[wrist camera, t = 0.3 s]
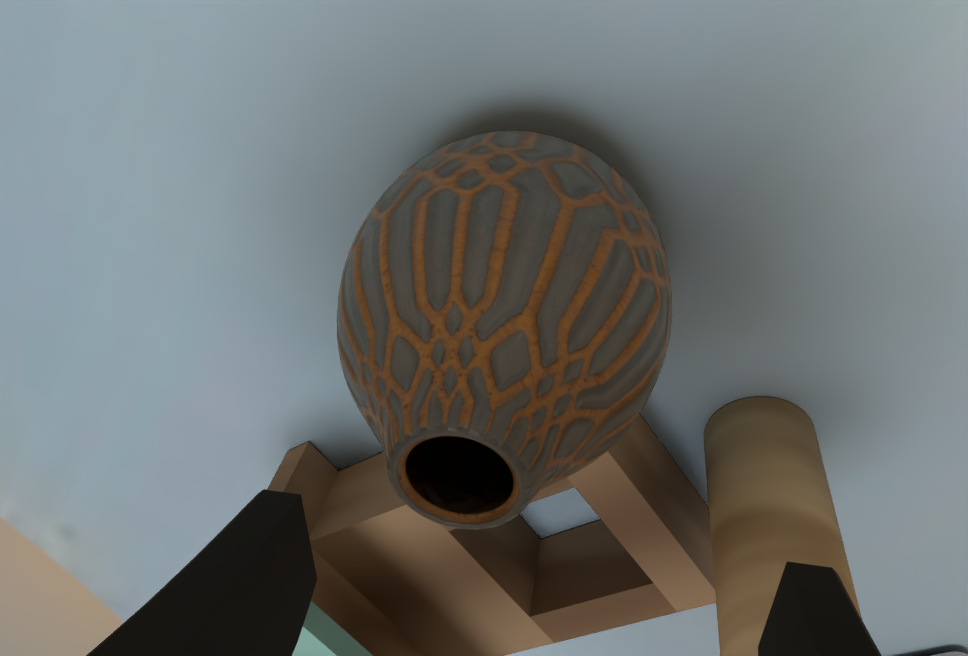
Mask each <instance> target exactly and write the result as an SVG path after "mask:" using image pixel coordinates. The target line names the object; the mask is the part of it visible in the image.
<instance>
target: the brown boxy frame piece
mask: <svg viewBox="0 0 968 656" xmlns="http://www.w3.org/2000/svg"><path fill="white" fill-rule="evenodd" d="M573 487H575V488H576V489H577V490H578V492H579V493H580V494H581V495H582V497H583V498H584V499H585V500H586V501H587V503H588V504H589V505H590V506H591V507H592V509H593V510H594V511H595V512H596V514H597V515H598V516H599V517H600V518H601V520H599V521H596V522H592V523H589V524H586V525H583V526H580V527H577V528H574V529H571V530H568V531H565V532H562V533H559V534H555V535H552V536H549V537H546V538H543V539H540V538H539V537H538V536H537V535H536V533H535V532H534V531H533V530H532V529H531V528H530V527H529V526H528V524H527V523H526V522H525V521H524V520H523V519H522V518H521V516H520V515H517V516H516V517H515V518H513V519H512V520H510V521H508V522H506V523H504V524H502V525H499V526H496V527H492V528H486V529H459V528H453V527H449V526H445V525H442V524H439V523H436V522H433V521H431V520H429V519H427V518H425V517H423V516H421V515H420V514H418V513H417V512H415V511H414V510H412V509H411V508H410V507H409V506H407V505H406V504H405V503H404V502H403V501H402V500H401V499H400V497H399V496H398V495H397V493H396V492H395V490H394V489H393V487H392V485H391V483H390V480H389V478H388V474H387V470H386V465H385V458H384V452H382V453H380V454H378V455H375V456H373V457H371V458H368V459H366V460H364V461H361V462H359V463H357V464H355V465H352V466H350V467H348V468H345V469H343V470H341V471H338V470H337V469H336V468H335V467H334V466H333V465H332V464H331V463H330V462H329V461H328V460H327V459H326V458H325V457H324V456H323V455H322V454H321V453H320V452H319V451H318V450H317V449H316V448H315V447H314V446H313V445H312V444H311V443H310V442H306V443H304V444H302V445H300V446H298V447H296V448H294V449H291V450H289V451H287V453H286V455H285V457H284V459H283V461H282V463H281V464H280V466H279V468H278V470H277V472H276V474H275V476H274V478H273V479H272V481H271V483H270V485H269V487H268V489H267V490H272V491H279V492H286V493H293V494H301V498H302V503H303V508H304V513H305V518H306V523H307V529H308V534H309V539H310V544H311V549H312V554H313V559H314V564H315V569H316V575H317V582H316V586H315V589H314V592H313V595H312V599H311V602H310V605H309V609H308V612H307V615H306V618H305V621H304V624H303V627H302V630H301V633H300V636H299V639H298V642H297V645H296V647H295V649H294V652H293V654H292V656H504V655H508V654H512V653H516V652H520V651H524V650H528V649H532V648H536V647H540V646H544V645H548V644H552V643H556V642H560V641H564V640H568V639H572V638H576V637H580V636H584V635H588V634H592V633H596V632H600V631H604V630H608V629H612V628H616V627H620V626H624V625H628V624H632V623H636V622H640V621H644V620H648V619H652V618H656V617H660V616H664V615H668V614H672V613H676V612H680V611H684V610H688V609H692V608H696V607H700V606H704V605H708V604H712V603H716V592H715V579H714V566H713V554H712V541H711V528H710V515H709V508H708V506H707V505H706V504H705V502H704V501H703V500H702V498H701V497H700V495H699V494H698V493H697V491H696V490H695V489H694V487H693V486H692V484H691V483H690V482H689V480H688V479H687V478H686V476H685V475H684V473H683V472H682V471H681V469H680V468H679V467H678V465H677V464H676V462H675V461H674V460H673V458H672V457H671V456H670V454H669V453H668V451H667V450H666V449H665V447H664V446H663V445H662V443H661V442H660V441H659V439H658V438H657V436H656V435H655V434H654V432H653V431H652V430H651V428H650V427H649V425H648V424H647V423H646V421H645V420H644V419H643V417H642V416H641V414H640V413H639V415H638V416H637V418H636V419H635V421H634V422H633V424H632V425H631V426H630V427H629V429H628V430H627V431H626V432H625V433H624V435H623V436H622V437H621V438H620V439H619V440H618V441H617V442H616V443H615V444H614V445H613V446H612V447H611V448H610V449H609V450H608V451H607V452H605V453H604V454H603V455H602V456H600V457H599V458H598V459H597V460H595V461H594V462H592V463H591V464H589V465H588V466H586V467H584V468H583V469H581V470H579V471H578V472H576V473H574V474H572V475H570V476H568V477H566V478H565V479H563V480H560V481H558V482H556V483H554V484H552V485H550V486H548V487H546V488H544V489H541V490H540V491H539V492H538V493H537V495H536V496H535V497H534V498H533V499H532V501H531V502H533V501H536V500H539V499H542V498H545V497H548V496H551V495H553V494H556V493H559V492H562V491H565V490H568V489H570V488H573ZM531 502H530V503H531Z"/></svg>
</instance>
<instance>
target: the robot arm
mask: <svg viewBox="0 0 968 656" xmlns="http://www.w3.org/2000/svg"><path fill="white" fill-rule="evenodd" d="M316 582H317V575H316V569H315V564H314V559H313V554H312V549H311V544H310V539H309V534H308V529H307V523H306V518H305V513H304V508H303V503H302V498H301V494H293V493H286V492H279V491H272V490H262V491H261V492H260V493H258V494H257V495H256V496H255V497H254V498H253V499H252V500H251V501H250V502H249V503H248V504H247V505H246V506H245V507H244V508H243V509H242V510H241V511H240V512H239V513H238V515H237V516H236V517H235V518H234V519H233V520H232V521H231V522H230V523H229V524H228V525H227V526H226V527H225V528H224V529H223V530H222V531H221V532H220V533H219V534H218V535H217V536H216V537H215V538H214V539H213V540H212V541H211V542H210V543H209V544H208V545H207V546H206V547H205V548H204V549H203V550H202V551H201V552H200V553H199V554H198V555H197V556H196V557H195V558H194V559H193V560H191V561H190V562H189V563H188V564H187V565H186V566H185V567H184V568H183V569H182V570H181V571H180V572H179V573H178V574H177V575H176V576H175V577H174V578H173V579H171V580H170V581H169V582H168V583H167V584H166V585H165V586H164V587H163V588H162V589H161V590H160V591H159V592H158V593H157V594H156V595H155V596H154V597H152V598H151V599H150V600H149V601H148V602H147V603H146V604H145V605H144V606H143V607H142V608H140V609H139V610H138V611H137V612H136V613H135V614H134V615H132V616H131V617H130V618H129V619H128V620H127V621H126V622H124V623H123V624H122V625H121V626H120V627H119V628H118V629H117V630H115V631H114V632H113V633H112V634H111V635H110V636H108V637H107V638H106V639H105V640H104V641H103V642H102V643H100V644H99V645H98V646H97V647H96V648H95V649H93V651H91V652H90V653H89V654H87V655H86V656H292V654H293V652H294V649H295V647H296V645H297V642H298V639H299V636H300V633H301V630H302V627H303V624H304V621H305V618H306V615H307V612H308V609H309V605H310V602H311V599H312V595H313V592H314V589H315V586H316ZM758 656H881V654H880V652H879V650H878V649H877V647H876V645H875V643H874V641H873V640H872V638H871V636H870V634H869V632H868V630H867V629H866V627H865V625H864V623H863V621H862V619H861V617H860V616H859V614H858V612H857V610H856V608H855V606H854V604H853V602H852V600H851V598H850V596H849V594H848V593H847V591H846V589H845V587H844V585H843V583H842V581H841V579H840V577H839V575H838V573H837V572H836V571H835V570H834V569H833V568H832V567H825V566H817V565H810V564H803V563H796V562H788V561H787V562H786V565H785V568H784V571H783V574H782V577H781V580H780V583H779V586H778V589H777V592H776V595H775V598H774V601H773V604H772V607H771V609H770V612H769V615H768V618H767V621H766V624H765V627H764V630H763V633H762V636H761V639H760V642H759V645H758ZM931 656H968V654H965V653H963V652H957V651H954V652H947V653H941V654H936V655H931Z"/></svg>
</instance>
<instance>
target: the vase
mask: <svg viewBox="0 0 968 656" xmlns="http://www.w3.org/2000/svg"><path fill="white" fill-rule="evenodd" d="M671 318H672V294H671V284H670V274H669V269H668V263H667V259H666V254H665V250H664V247H663V243H662V240H661V237H660V235H659V232H658V230H657V228H656V226H655V224H654V222H653V219H652V218H651V216H650V214H649V212H648V210H647V208H646V207H645V205H644V204H643V202H642V200H641V199H640V198H639V196H638V195H637V193H636V192H635V191H634V190H633V189H632V187H631V186H630V185H629V184H628V183H627V182H626V181H625V180H624V178H623V177H622V176H621V175H620V174H619V173H617V172H616V171H615V170H614V169H613V168H612V167H611V166H610V165H608V164H607V163H606V162H605V161H603V160H602V159H601V158H599V157H598V156H596V155H595V154H593V153H591V152H590V151H588V150H586V149H584V148H582V147H580V146H578V145H576V144H574V143H571V142H569V141H566V140H564V139H561V138H558V137H554V136H550V135H546V134H542V133H536V132H528V131H496V132H489V133H483V134H479V135H474V136H471V137H468V138H464V139H461V140H458V141H455V142H453V143H450V144H448V145H445V146H444V147H442V148H440V149H438V150H436V151H434V152H432V153H431V154H429V155H428V156H426V157H424V158H423V159H421V160H419V161H418V162H416V163H415V164H414V165H412V166H411V167H410V168H408V169H407V170H406V171H405V172H404V173H403V174H402V175H401V176H399V178H398V179H397V180H396V181H395V182H394V183H393V184H392V185H391V186H390V187H389V188H388V189H387V190H386V192H385V193H384V194H383V195H382V196H381V198H380V199H379V200H378V202H377V203H376V204H375V206H374V207H373V208H372V210H371V211H370V213H369V214H368V216H367V217H366V219H365V221H364V222H363V224H362V226H361V228H360V230H359V231H358V233H357V235H356V237H355V239H354V241H353V244H352V246H351V249H350V251H349V254H348V257H347V260H346V263H345V267H344V270H343V274H342V280H341V285H340V291H339V297H338V310H337V340H338V349H339V355H340V360H341V365H342V369H343V373H344V376H345V379H346V382H347V385H348V387H349V390H350V392H351V395H352V397H353V399H354V401H355V403H356V405H357V407H358V408H359V410H360V412H361V414H362V415H363V417H364V419H365V420H366V422H367V424H368V425H369V427H370V428H371V430H372V431H373V433H374V435H375V436H376V438H377V439H378V440H379V442H380V443H381V445H382V447H383V452H384V458H385V465H386V470H387V474H388V478H389V480H390V483H391V485H392V487H393V489H394V490H395V492H396V493H397V495H398V496H399V497H400V499H401V500H402V501H403V502H404V503H405V504H406V505H407V506H409V507H410V508H411V509H412V510H414V511H415V512H417V513H418V514H420V515H421V516H423V517H425V518H427V519H429V520H431V521H433V522H436V523H439V524H442V525H445V526H449V527H453V528H459V529H486V528H492V527H496V526H499V525H502V524H504V523H506V522H508V521H510V520H512V519H513V518H515V517H516V516H517V515H519V514H520V513H521V512H522V511H523V510H524V509H525V508H526V507H527V505H528V504H529V503H530V502H531V501H532V499H533V498H534V497H535V496H536V495H537V493H538V492H539V491H540V490H541V489H544V488H546V487H548V486H550V485H552V484H554V483H556V482H558V481H560V480H563V479H565V478H566V477H568V476H570V475H572V474H574V473H576V472H578V471H579V470H581V469H583V468H584V467H586V466H588V465H589V464H591V463H592V462H594V461H595V460H597V459H598V458H599V457H600V456H602V455H603V454H604V453H605V452H607V451H608V450H609V449H610V448H611V447H612V446H613V445H614V444H615V443H616V442H617V441H618V440H619V439H620V438H621V437H622V436H623V435H624V433H625V432H626V431H627V430H628V429H629V427H630V426H631V425H632V424H633V422H634V421H635V419H636V418H637V416H638V415H639V413H640V411H641V410H642V408H643V407H644V405H645V403H646V401H647V399H648V398H649V396H650V394H651V392H652V390H653V388H654V385H655V383H656V381H657V378H658V376H659V373H660V370H661V368H662V365H663V362H664V358H665V355H666V351H667V346H668V342H669V337H670V331H671Z"/></svg>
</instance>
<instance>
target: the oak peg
mask: <svg viewBox="0 0 968 656" xmlns="http://www.w3.org/2000/svg"><path fill="white" fill-rule="evenodd" d="M704 451H705V464H706V477H707V490H708V502H709V515H710V528H711V541H712V554H713V566H714V579H715V592H716V605H717V618H718V630H719V643H720V656H758V645H759V642H760V639H761V636H762V633H763V630H764V627H765V624H766V621H767V618H768V615H769V612H770V609H771V607H772V604H773V601H774V598H775V595H776V592H777V589H778V586H779V583H780V580H781V577H782V574H783V571H784V568H785V565H786V562H787V561H788V562H796V563H803V564H810V565H817V566H825V567H832V568H833V569H834V570H835V571H836V572H837V573H838V575H839V577H840V579H841V581H842V583H843V585H844V587H845V589H846V591H847V593H848V594H849V596H850V598H851V600H852V602H853V604H854V606H855V608H856V610H857V612H858V614H859V616H860V617H861V614H860V610H859V606H858V602H857V598H856V594H855V590H854V585H853V581H852V577H851V573H850V569H849V565H848V561H847V557H846V553H845V549H844V545H843V541H842V537H841V533H840V529H839V525H838V521H837V517H836V513H835V509H834V505H833V501H832V497H831V493H830V489H829V485H828V481H827V477H826V473H825V469H824V465H823V461H822V456H821V452H820V448H819V444H818V440H817V436H816V432H815V428H814V425H813V423H812V421H811V419H810V418H809V416H808V415H807V414H806V413H805V412H804V411H803V410H802V409H801V408H799V407H798V406H796V405H794V404H793V403H790V402H788V401H785V400H782V399H778V398H773V397H749V398H744V399H740V400H737V401H734V402H732V403H729V404H727V405H726V406H724V407H722V408H721V409H719V410H718V411H717V412H716V413H715V414H714V415H713V416H712V417H711V418H710V420H709V421H708V423H707V425H706V427H705V430H704ZM861 619H862V618H861Z"/></svg>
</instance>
